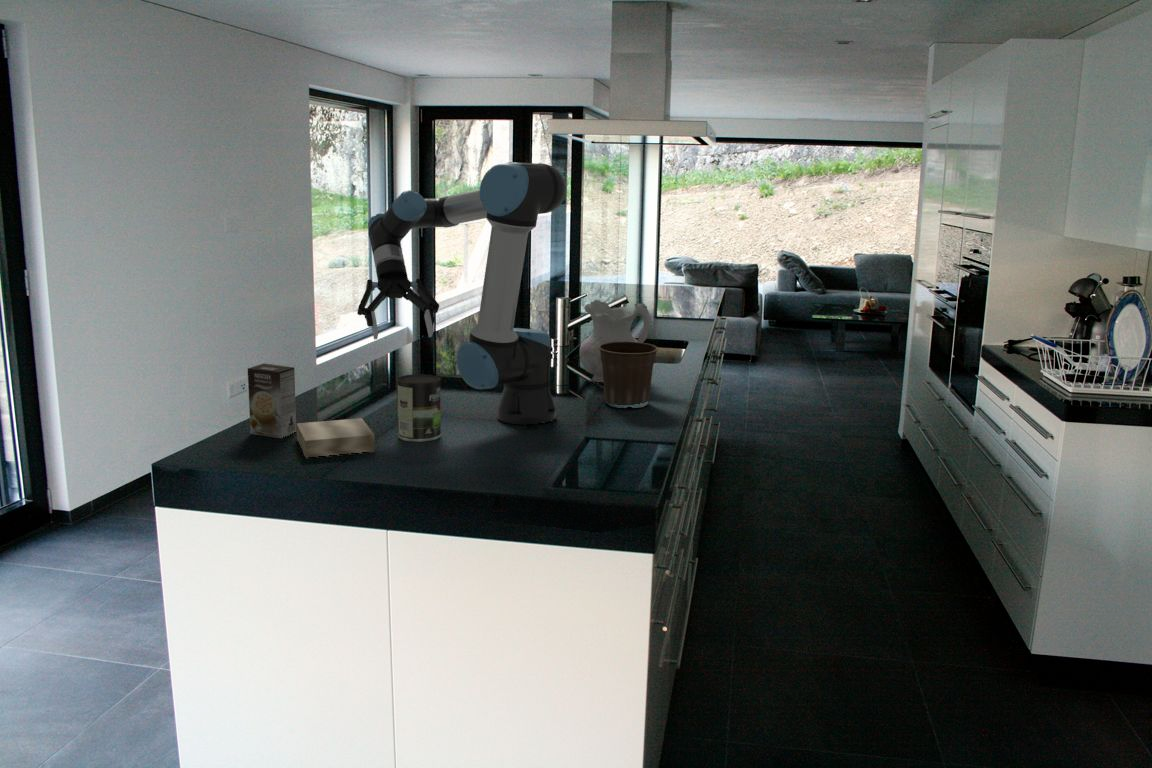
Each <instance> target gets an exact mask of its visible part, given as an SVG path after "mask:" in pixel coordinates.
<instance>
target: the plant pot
mask: <svg viewBox="0 0 1152 768" xmlns="http://www.w3.org/2000/svg"><path fill="white" fill-rule="evenodd" d="M598 349H599V350H600V356H601V362H602V369H603V383H604V385H603V398H604V399H603V400H605V401H606V402H608V403H611V404H617V405H634V404H640V403H645V402H647V401H649V402H650V394H651V385H652V378H653V371H654V369H653V368H654V364H655V362H656V355H657V352H658V350H659V347H658V346H656V345H655V344H651V343H646V342H645V343H644V342H643V343H639V342H609V343H604V344H601V345H599V346H598Z"/></svg>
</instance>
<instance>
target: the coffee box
mask: <svg viewBox="0 0 1152 768" xmlns="http://www.w3.org/2000/svg"><path fill="white" fill-rule="evenodd" d="M295 382H296V377H295V367H294V366H293V367H292V366H285V365H279V364H271V363H261V364H258V365H254V366H252V367H248V368H247V384H248V385H247V387H248V402H249V403H248V409H249V426H250V427H249V429H250V431H249V433H250V435H254V436H263V437H268V438H277V439H284V438H286V437H288V436H290V434H291V435H293V434H295V433H294V432H296V433H297V410H296V408H297V406H296V383H295ZM292 433H293V434H292ZM285 436H286V437H285ZM283 437H284V438H283Z"/></svg>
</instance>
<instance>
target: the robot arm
mask: <svg viewBox="0 0 1152 768" xmlns="http://www.w3.org/2000/svg"><path fill="white" fill-rule="evenodd" d="M566 191H567V185H566V181H565V179H564V176H563V175H562V173H561V172H560V171H559V170H558V169H557V168H555V167H554V166H552V165H550V164H548V163H547V164H546V163H539V162H538V163H533V162H531V163H530V162H513V161H510V162H509V161H507V162H502V163H501V162H500V163H497V164H495V165H493V166H492V167H490V168H489V169H488V170H487V171H486V172H485V174H484V175H483V177H482V179H481V182H480V185H479V188H478V189H473V190H469V191H465V192H460V193H455V194H452V195H447V196H443V197H438V198H424V197H423V196H422V194H420V193H419V192H416V191H414V190H411V189H410V190H409V189H406V190H404V191H402V192H401V193H400V194H399V196H398V197H397V198H395V199H394V201H392V203H391V205H390V206H389V208H388V209H387V210H386V212H380V213H376V214H375V215H372V216H371V217H370V218H369V219H368V223H367V229H368V233H367V234H368V238H369V242H370V246H371V252H372V255H373V262H374V267H375V273H376V278H377V281H373V280H372V279H369V278H368V279H367V280H366V281H367V282H366V285H365V291H364V294H363V296H362V298H361V300H360V303H359V305H358V308H357V313H356V314H357V315H358V316H364V318H365V320H366V325H367V327H369V328H370V327H371V330H372V335H373V340H377V339H378V337H379V329H378V323H377V322H378V321H377V317H376V313H375V311H376V309H378V307H379V306H380V305H381V304H382V302H384V300H385V299H387V298H389V300H391V299H402V298H403V299H405V300H406V301H409V302H411V303H412V304H414V306H416V307H417V308H418V309H419V310H421V311H422V312H423V313H424V314H423V317H424V322H425V326H426V330H427V335H428V338H432V337H433V334H434V331H435V330H434V327H433V325H434V324H435V320H436V318H435V314H437V313H438V311H439V308H440V304H439V303H438V301H436V299H435V297H433V296H432V294H431V293H430V292H429V291H428V290H427V288H426V287H425V286H424V284H423V282H422V280H421V278H416V280H414V281H410V279H409V278H408V272H407V266H406V264H405V258H404V254H403V248H402V244H401V242H402V240H403V239H404V238H405V237H406V236H407V235H408V233H409V232H410V231H411V230H412V229H427V228H429V229H430V228H451V227H456V226H458V225H460V224H463V223H464V224H465V223H468V222H474V221H478V220H479V221H480V220H483V219H486V220H487V221H488V222H489V224H490V226H491V230H490V237H489V243H488V251H487V259H486V263H485V264H486V265H485V272H484V276H483V277H484V278H483V279H484V280H483V286H482V291H481V298H480V307H479V313H478V319H477V324H476V325H474V326H473V327H471V328H470V332H469V339H468V342H465V343H463V344H462V346H460V347H459V349H458V350H457V353H456V366H457V370H458V373H459V375H460V376H461V377H462V380H463V381H464V382H465V383H466V384H467V385H468V386H470V387H471V388H473V389H476V390H486V389H493V388H496V387H499V386H503V391H502V394H501V397H500V399H499V403H498V405H497V408H496V409H497V411H496V418H497V420H498V421H500V422H504V423H507V424H512V425H521V426H523V425H524V426H528V425H527V424H535V425H539V424H538V423H543V422H548V421H551V420H553V419H555V420H556V418H557V413H556V412H557V410H556V406H555V403H554V399H553V395H552V392H551V390H550V378H551V377H550V374H551V349H552V346H551V337H550V336H551V335H549V333H548V332H546V331H543V330H539V329H531V328H522V327H514V325H515V319H516V312H517V307H518V300H519V294H520V289H521V288H520V287H521V281H522V275H523V269H524V263H525V255H526V249H527V243H528V238H529V233H530V232H531V231H532V230H533V229H535V228H536V226H537V222H538V215H540V214H548V213H551V212H553V211H555V210H556V209H558V208H559V207H560V206H561V205H562V203H563V202H564V200H565V196H566V194H567V193H566ZM376 288H377V290H379V293H378V294H377V296H375V297H374V299H373V300H372V301H371V302H370V303H369V304H368V302H369V299H370V296H371V294H372V292H374V291H375V289H376ZM412 288H413V289H414V290H413V289H412ZM414 291H415V292H416V293H415V292H414ZM367 304H368V306H367ZM555 417H556V418H555ZM553 421H554V420H553ZM551 422H552V421H551ZM548 423H549V422H548Z"/></svg>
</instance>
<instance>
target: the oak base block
mask: <svg viewBox="0 0 1152 768" xmlns="http://www.w3.org/2000/svg"><path fill="white" fill-rule="evenodd" d="M296 440H297V442H299V443H298V444H300V445H299V446H301V447H300V449H301V448H302V449H301V451H302V450H303V451H302V453H303V456H304V457H306V458H305V459H309V458H308V457H316V458H319V457H318V456H326V457H330V456H329V455H337V456H340V455H339V454H348V453H349V454H348V455H352V454H351V453H359V454H363V453H362V452H369V453H375V452H376V449H375V447H376V446H375V444H376V443H375V442H376V440H375V433H374V432H373V431H372V430H371V428H370V427H369V426H368V424H367V423H366V422H365V420H364V419H363V418H362V417H361V418H350V419H349V418H348V419H338V420H337V419H336V420H335V419H334V420H333V419H332V420H323V421H322V420H321V421H311V422H310V421H308V422H296Z"/></svg>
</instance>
